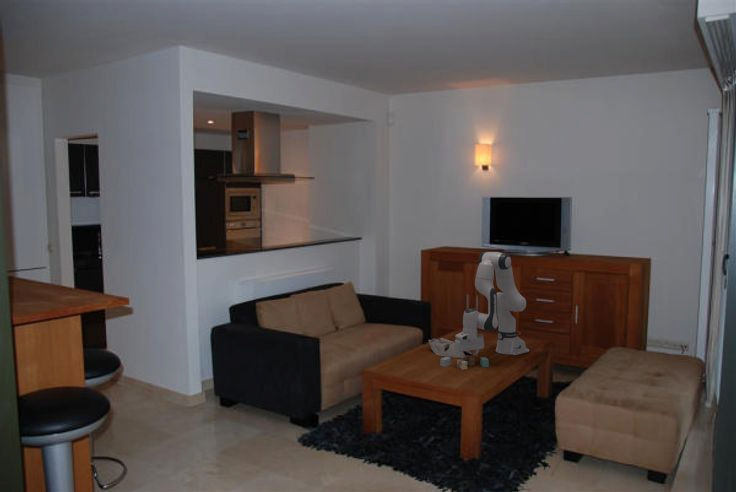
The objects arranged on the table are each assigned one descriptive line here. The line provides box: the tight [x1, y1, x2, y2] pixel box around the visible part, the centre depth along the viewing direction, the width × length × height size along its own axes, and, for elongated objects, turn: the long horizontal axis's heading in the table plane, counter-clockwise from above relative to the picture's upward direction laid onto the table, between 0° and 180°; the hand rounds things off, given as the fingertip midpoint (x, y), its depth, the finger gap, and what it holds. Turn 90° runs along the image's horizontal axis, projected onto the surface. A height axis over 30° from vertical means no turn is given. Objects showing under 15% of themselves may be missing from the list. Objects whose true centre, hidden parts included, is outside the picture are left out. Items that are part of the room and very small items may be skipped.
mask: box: [427, 337, 473, 359], centre depth 404 cm, size 20×9×30 cm
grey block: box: [439, 356, 452, 368], centre depth 376 cm, size 6×4×4 cm, turn 136°
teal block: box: [479, 356, 490, 368], centre depth 376 cm, size 6×4×4 cm, turn 6°
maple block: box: [456, 358, 468, 371], centre depth 371 cm, size 6×4×4 cm, turn 26°
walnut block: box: [463, 355, 476, 367], centre depth 379 cm, size 6×4×4 cm, turn 26°
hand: (469, 357), depth 379 cm, fingers open, 8 cm apart
